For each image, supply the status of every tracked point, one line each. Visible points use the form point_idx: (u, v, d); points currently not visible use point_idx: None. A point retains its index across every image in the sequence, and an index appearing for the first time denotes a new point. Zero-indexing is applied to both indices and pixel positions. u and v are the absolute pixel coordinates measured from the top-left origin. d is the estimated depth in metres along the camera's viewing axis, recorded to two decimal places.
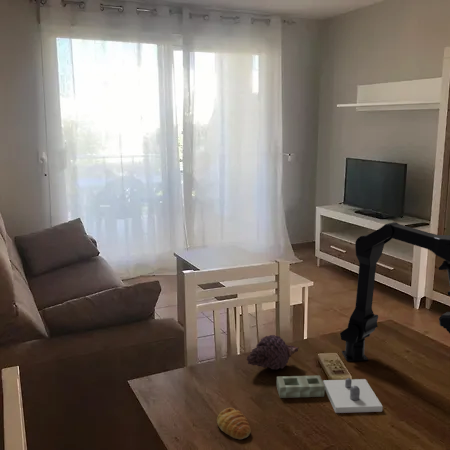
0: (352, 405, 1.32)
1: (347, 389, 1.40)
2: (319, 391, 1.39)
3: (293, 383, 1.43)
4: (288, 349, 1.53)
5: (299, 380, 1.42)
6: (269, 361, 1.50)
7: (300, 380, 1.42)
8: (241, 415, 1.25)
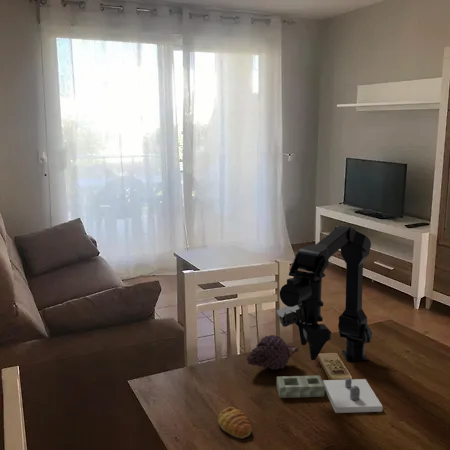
0: (352, 405, 1.32)
1: (347, 389, 1.40)
2: (319, 391, 1.39)
3: (293, 383, 1.43)
4: (288, 349, 1.53)
5: (299, 380, 1.42)
6: (269, 361, 1.50)
7: (300, 380, 1.42)
8: (242, 414, 1.25)
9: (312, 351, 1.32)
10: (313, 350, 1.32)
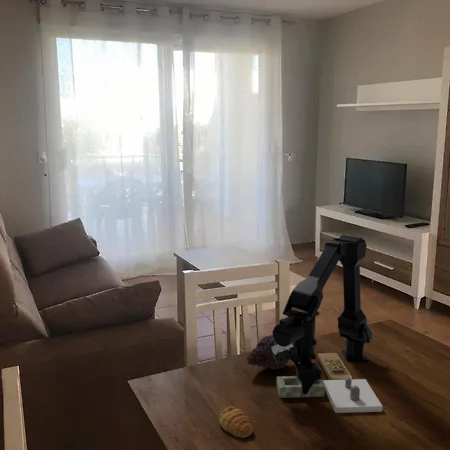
0: (352, 405, 1.32)
1: (347, 389, 1.40)
2: (319, 391, 1.39)
3: (293, 383, 1.43)
4: None
5: (299, 380, 1.42)
6: (269, 361, 1.50)
7: (300, 380, 1.42)
8: (243, 413, 1.26)
9: (304, 386, 1.37)
10: (304, 385, 1.37)
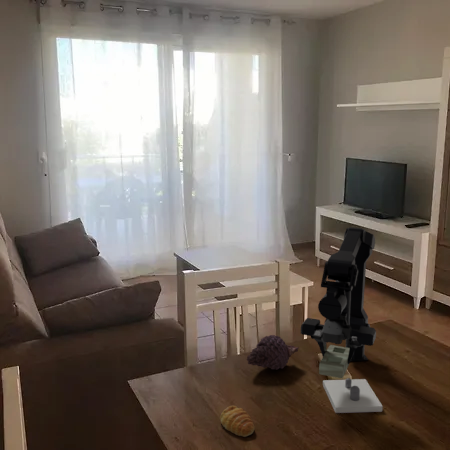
0: (352, 405, 1.32)
1: (347, 389, 1.40)
2: None
3: (327, 362, 1.36)
4: (288, 349, 1.53)
5: (334, 355, 1.37)
6: (269, 361, 1.50)
7: (335, 355, 1.37)
8: (244, 412, 1.26)
9: None
10: (353, 353, 1.35)
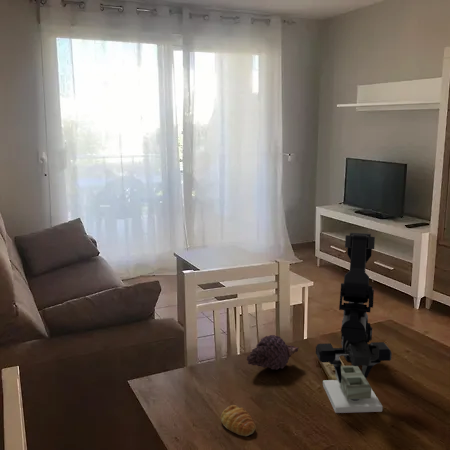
0: (352, 405, 1.32)
1: None
2: None
3: None
4: (288, 349, 1.53)
5: (351, 376, 1.37)
6: (269, 361, 1.50)
7: (351, 376, 1.37)
8: (245, 412, 1.26)
9: None
10: None
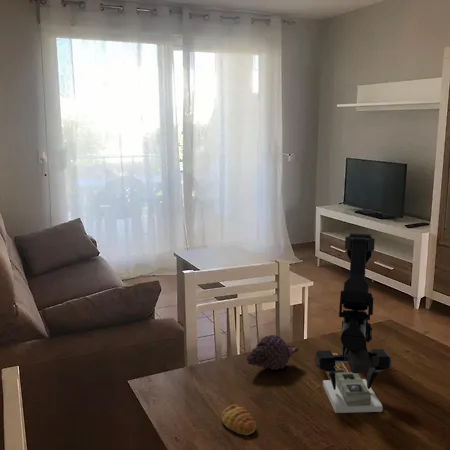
0: None
1: None
2: None
3: None
4: (288, 349, 1.53)
5: (350, 383, 1.37)
6: (269, 361, 1.50)
7: (351, 383, 1.37)
8: (245, 411, 1.27)
9: None
10: None
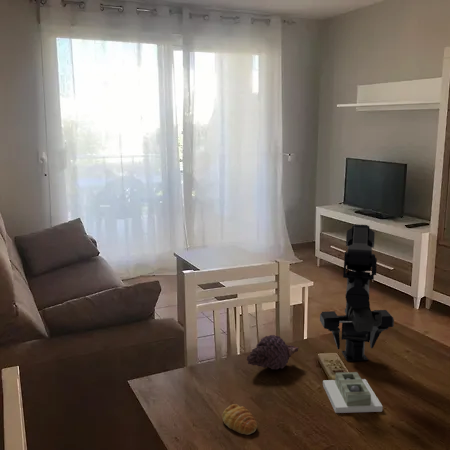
0: None
1: None
2: None
3: None
4: (288, 349, 1.53)
5: (350, 383, 1.37)
6: (269, 361, 1.50)
7: (351, 383, 1.37)
8: (246, 411, 1.27)
9: None
10: None
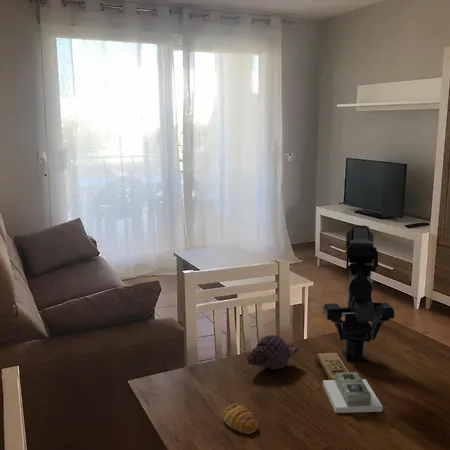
0: None
1: None
2: None
3: None
4: (288, 349, 1.53)
5: (350, 383, 1.37)
6: (269, 361, 1.50)
7: (351, 383, 1.37)
8: (247, 410, 1.27)
9: None
10: None
